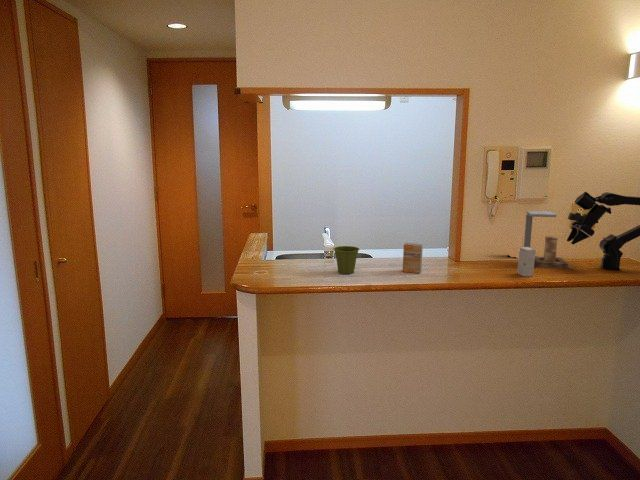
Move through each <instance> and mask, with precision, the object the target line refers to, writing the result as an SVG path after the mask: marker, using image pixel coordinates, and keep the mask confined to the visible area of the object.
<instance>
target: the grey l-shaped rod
mask: <svg viewBox="0 0 640 480" xmlns="http://www.w3.org/2000/svg"><path fill="white" fill-rule="evenodd" d="M525 213H526V214H525V226H524V237H523V238H524V239H523V247H529V248H531V241H532V232H533V231H532V228H533V218H536V217H539V218H540V217H541V218H557V213H554V211H553V212H552V211H549V210H548V211H547V210H546V211H542V210H541V211H540V210H526V212H525Z"/></svg>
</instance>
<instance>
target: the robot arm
mask: <svg viewBox="0 0 640 480" xmlns="http://www.w3.org/2000/svg"><path fill="white" fill-rule="evenodd" d="M574 204H575V205H576V206H579V207H580V208H581V209H583V210H584V211H587V210H589V211H587V213H584V214H583V215H581V213H579V212H575V213H573V212H569V214H568V216H567V219H568V221H572V222H571V223H570V229H571V231H570V233H569V235H568V237H567V239H566V241H567V242H568V243H569V242H571V243H570V244H571V245H575V244H577V243H579V242H582V241H583V240H586V239H588V238H590V237H593V236H594V235H595V230H594V229H593V227H594V226H595V225H597V224H598V223H599V220H601V218H602V217H603V216H604V215H605V214H606V213H607V214H609V215H612V208H611V207H614V206H616V207H617V206H621V205H623V206H625V205H631V206H640V196H629V195H622V194H621V195H620V194H618V193H613V192H607V191H606V192H603V193H601V195H599V196H598V195H597V196H595V197H593V195H591V194H590V193H589V192H588V191H584V192H583V193H582V194H579V196H577V197H576V199H575V200H574ZM606 206H608V207H606ZM639 237H640V224H639V225H636V226H634V227H633V228H630V229H629V230H627V231H625V232H623V233H620V234H618V235H614V234H612V233H611V234H608V235H607V236H606V237H602V239H601V240H600V241H599V244H598V246H599V248H600V250H601V251H602V253H603V255H602V257H601V263H600V267H601V268H603V269H604V270H608V271H609V270H611V271H613V270H614V271H621V268H620V267H621V266H620V265H621V258H622V257H623V255H624V253H623V252H622V251H621V248H622V247H623V246H624V245H625V244H627V243H629V242H630V241H633V240H635V239H637V238H639Z"/></svg>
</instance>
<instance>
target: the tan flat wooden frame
mask: <svg viewBox="0 0 640 480" xmlns="http://www.w3.org/2000/svg"><path fill="white" fill-rule="evenodd" d="M543 260H544V256H540V255H539V256H538V255H535V261H534V268H536V269H553V270H568V271H569V270H570V271H571V270H573V271H574V270H575V268H574V267H572V266H571V265H570V264H569V263H568V262H567V261H566V260H565V259H564V258H563V257H559V256H556V260H555V262H545V261H543Z"/></svg>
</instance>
